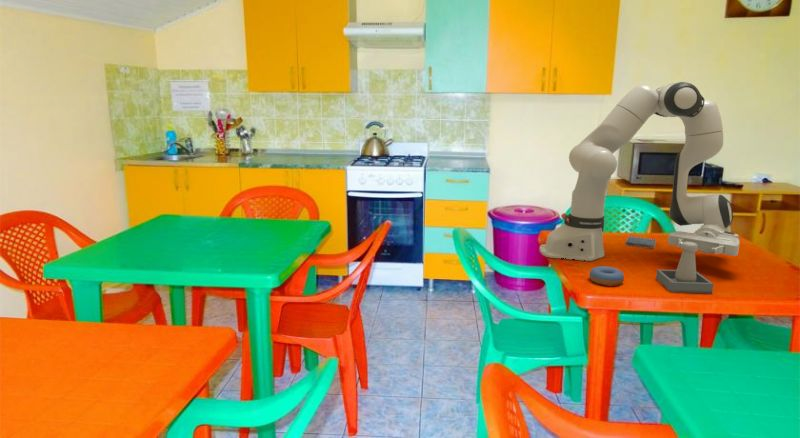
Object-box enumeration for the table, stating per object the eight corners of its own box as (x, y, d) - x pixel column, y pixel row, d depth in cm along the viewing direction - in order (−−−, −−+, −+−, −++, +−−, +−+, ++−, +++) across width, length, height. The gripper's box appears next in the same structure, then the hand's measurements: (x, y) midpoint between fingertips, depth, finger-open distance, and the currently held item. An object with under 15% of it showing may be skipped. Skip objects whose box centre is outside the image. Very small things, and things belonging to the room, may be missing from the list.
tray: (670, 292, 157) (671, 282, 157) (655, 278, 169) (656, 269, 168) (712, 293, 156) (713, 283, 156) (694, 279, 168) (695, 270, 167)
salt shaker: (699, 287, 159) (705, 245, 156) (679, 287, 160) (684, 245, 156) (689, 281, 165) (695, 240, 162) (670, 280, 165) (675, 239, 162)
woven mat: (656, 243, 209) (657, 238, 208) (653, 250, 200) (654, 245, 199) (627, 240, 214) (628, 235, 213) (623, 246, 205) (624, 241, 205)
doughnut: (605, 273, 173) (605, 260, 171) (630, 284, 164) (631, 270, 163) (582, 281, 169) (582, 267, 167) (607, 293, 160) (608, 279, 159)
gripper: (675, 224, 185) (662, 232, 175) (744, 235, 171) (735, 244, 161) (673, 242, 186) (660, 251, 176) (741, 254, 173) (732, 264, 163)
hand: (696, 248), depth 169 cm, fingers open, 8 cm apart
